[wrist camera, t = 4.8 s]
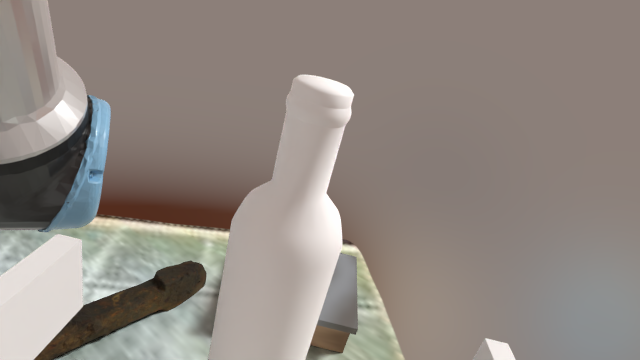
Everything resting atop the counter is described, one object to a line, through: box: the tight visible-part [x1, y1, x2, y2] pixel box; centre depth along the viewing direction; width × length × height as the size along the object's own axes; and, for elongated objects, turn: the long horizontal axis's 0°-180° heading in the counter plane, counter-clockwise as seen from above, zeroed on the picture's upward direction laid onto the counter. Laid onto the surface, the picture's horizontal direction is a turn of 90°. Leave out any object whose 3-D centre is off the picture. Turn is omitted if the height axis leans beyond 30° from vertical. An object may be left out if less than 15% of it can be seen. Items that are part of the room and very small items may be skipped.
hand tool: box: [34, 261, 206, 360], centre depth 38 cm, size 19×4×5 cm, turn 136°
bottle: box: [208, 75, 354, 360], centre depth 28 cm, size 8×8×30 cm
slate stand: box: [310, 253, 358, 353], centre depth 47 cm, size 13×13×4 cm
